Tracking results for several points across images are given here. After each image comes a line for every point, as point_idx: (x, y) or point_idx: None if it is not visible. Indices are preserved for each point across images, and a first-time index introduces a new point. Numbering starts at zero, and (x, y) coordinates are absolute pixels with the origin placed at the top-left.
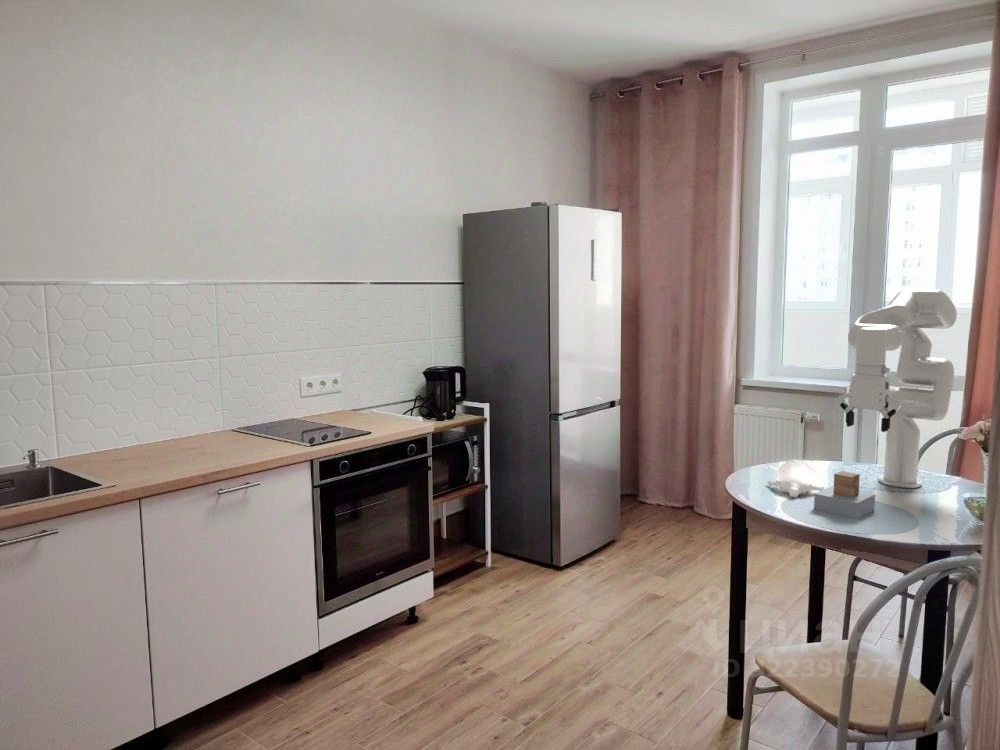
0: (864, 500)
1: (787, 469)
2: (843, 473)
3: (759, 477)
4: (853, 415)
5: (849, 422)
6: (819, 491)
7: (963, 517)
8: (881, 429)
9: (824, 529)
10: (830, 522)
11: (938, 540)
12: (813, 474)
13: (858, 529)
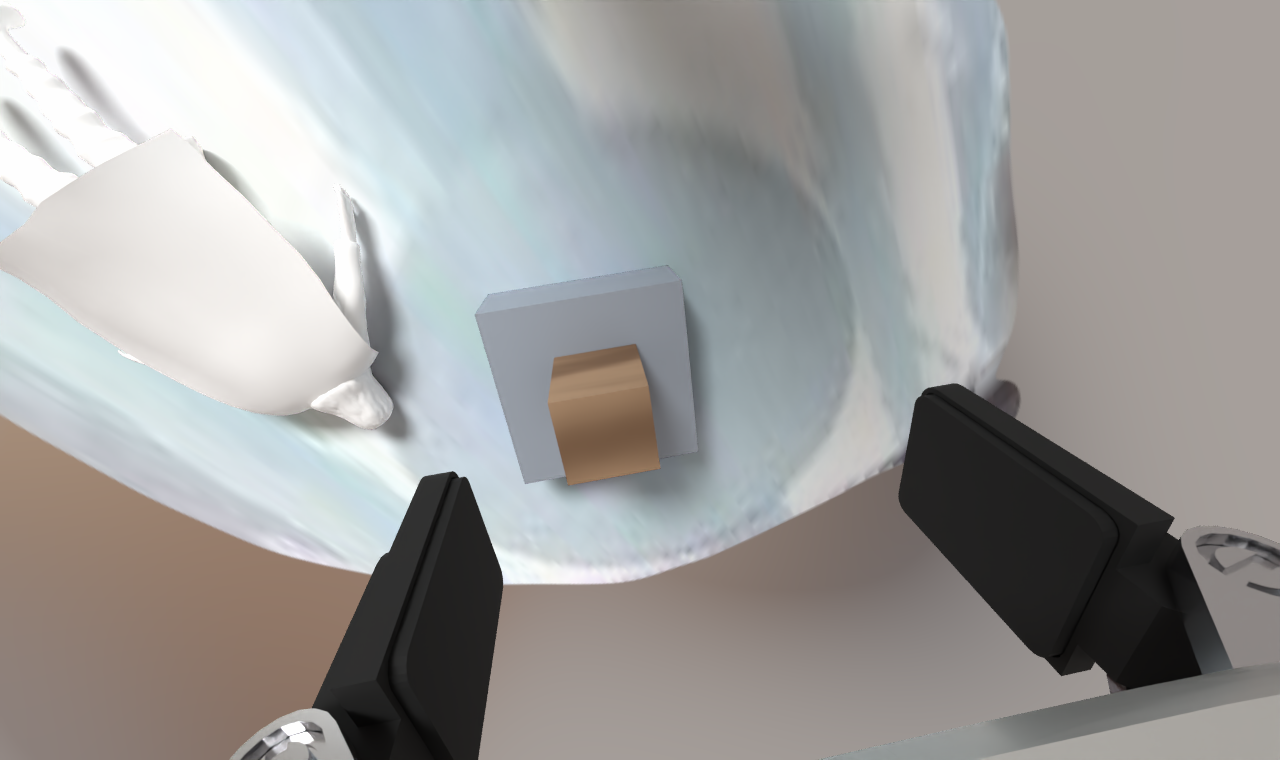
0: (691, 387)
1: (133, 327)
2: (589, 443)
3: None
4: (433, 632)
5: (494, 628)
6: (514, 447)
7: (966, 11)
8: (916, 518)
9: (679, 563)
10: (654, 509)
11: (936, 385)
12: (235, 210)
13: (739, 492)
